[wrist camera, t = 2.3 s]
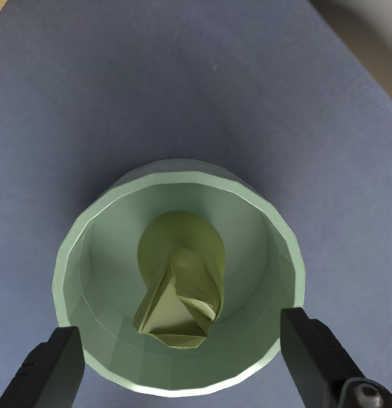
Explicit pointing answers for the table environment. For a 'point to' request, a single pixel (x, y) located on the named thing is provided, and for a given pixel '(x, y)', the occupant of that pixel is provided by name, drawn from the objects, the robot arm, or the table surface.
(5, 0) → the block
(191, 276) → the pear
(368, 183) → the table surface
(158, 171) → the pot
